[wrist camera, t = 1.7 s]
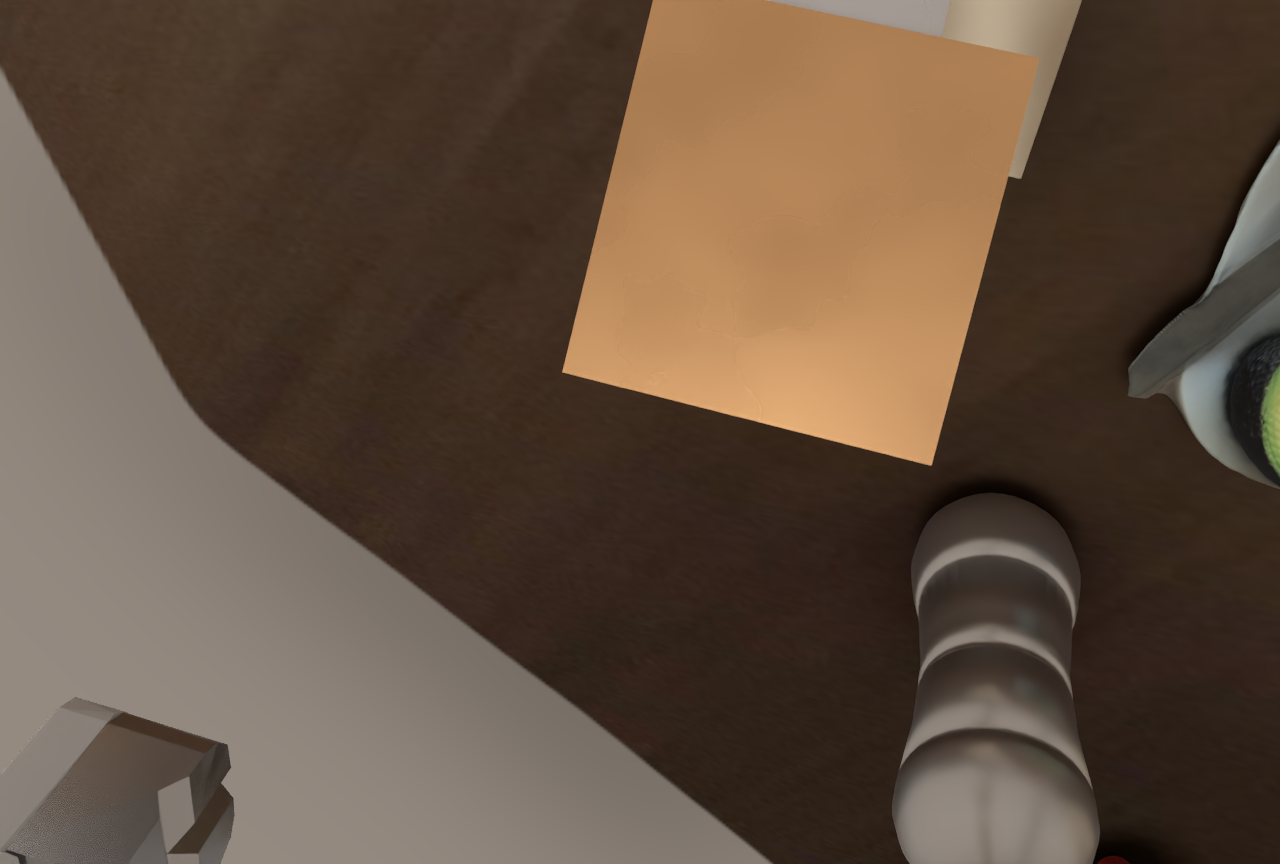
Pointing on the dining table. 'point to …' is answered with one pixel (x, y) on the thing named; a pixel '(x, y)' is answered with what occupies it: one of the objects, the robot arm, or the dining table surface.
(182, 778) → the robot arm
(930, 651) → the plastic bottle
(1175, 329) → the salad plate
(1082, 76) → the dining table surface
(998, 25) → the press base
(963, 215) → the press lever
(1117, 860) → the strawberry
